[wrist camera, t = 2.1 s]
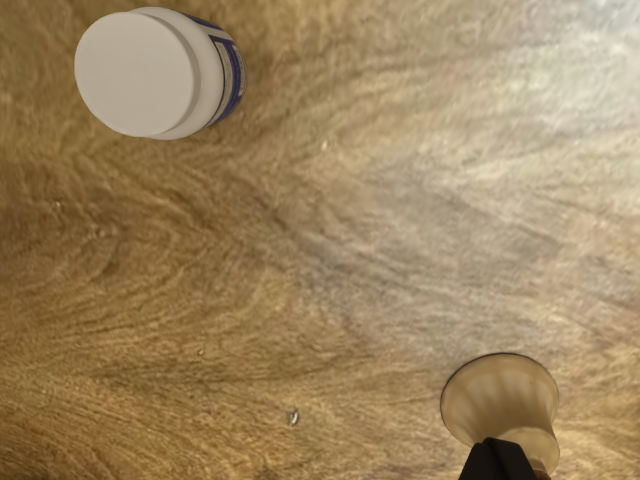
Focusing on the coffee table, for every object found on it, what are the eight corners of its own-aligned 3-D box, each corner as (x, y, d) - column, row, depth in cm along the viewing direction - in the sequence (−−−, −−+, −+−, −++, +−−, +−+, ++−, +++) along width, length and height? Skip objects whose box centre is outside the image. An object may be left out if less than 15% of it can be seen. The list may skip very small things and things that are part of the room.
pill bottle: (132, 78, 28) (31, 82, 19) (189, -3, 27) (110, -43, 17) (210, 144, 29) (151, 178, 20) (269, 69, 28) (235, 69, 18)
